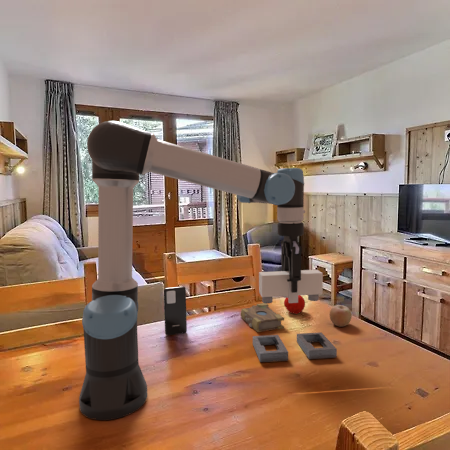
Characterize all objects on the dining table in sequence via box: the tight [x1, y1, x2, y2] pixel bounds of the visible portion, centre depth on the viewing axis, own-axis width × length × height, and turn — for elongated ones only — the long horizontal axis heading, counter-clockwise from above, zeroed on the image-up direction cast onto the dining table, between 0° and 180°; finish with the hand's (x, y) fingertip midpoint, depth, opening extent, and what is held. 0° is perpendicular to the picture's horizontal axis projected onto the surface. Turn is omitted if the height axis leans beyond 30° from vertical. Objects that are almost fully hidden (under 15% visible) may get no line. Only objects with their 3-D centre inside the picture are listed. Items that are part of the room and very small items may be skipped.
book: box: [240, 302, 285, 333], centre depth 127 cm, size 15×11×5 cm
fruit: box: [329, 302, 353, 328], centre depth 124 cm, size 8×7×8 cm
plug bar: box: [258, 269, 324, 304], centre depth 106 cm, size 18×4×8 cm, turn 96°
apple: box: [283, 295, 306, 315], centre depth 137 cm, size 8×8×7 cm
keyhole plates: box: [252, 331, 338, 363], centre depth 106 cm, size 22×12×2 cm, turn 96°
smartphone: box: [163, 286, 188, 336], centre depth 118 cm, size 7×1×16 cm, turn 107°
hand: (290, 299), depth 106 cm, fingers closed on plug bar, 4 cm apart
